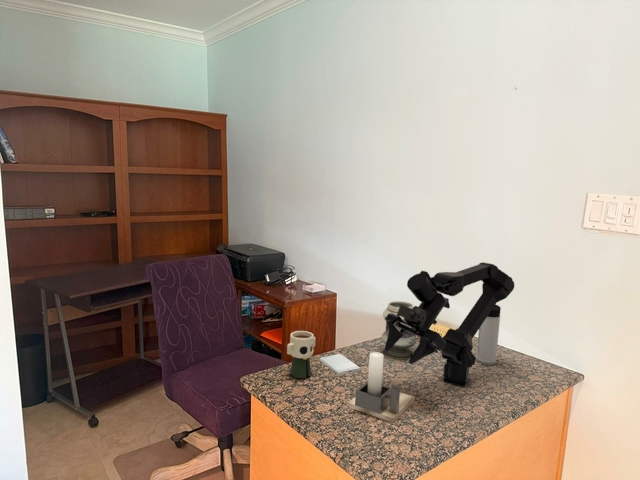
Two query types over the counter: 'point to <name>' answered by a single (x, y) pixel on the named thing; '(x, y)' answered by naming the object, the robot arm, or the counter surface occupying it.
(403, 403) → the mounting board
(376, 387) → the white tall cylinder
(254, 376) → the counter surface
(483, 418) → the counter surface
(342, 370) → the hard drive
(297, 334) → the character mug
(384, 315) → the apothecary jar
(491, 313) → the travel mug
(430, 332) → the robot arm
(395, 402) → the cup bracket
